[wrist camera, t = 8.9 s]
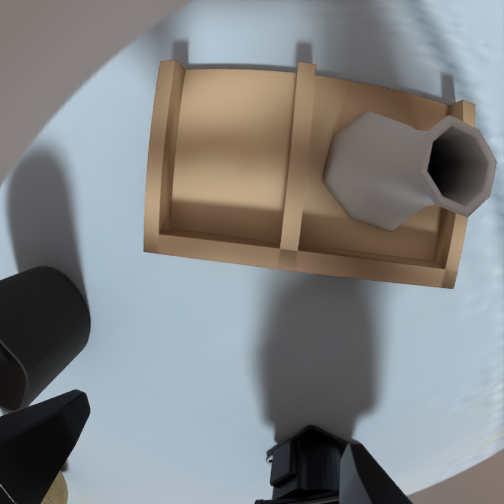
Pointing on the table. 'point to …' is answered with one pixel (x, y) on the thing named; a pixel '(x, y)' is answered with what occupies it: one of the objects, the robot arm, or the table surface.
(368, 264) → the rack
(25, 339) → the pen holder
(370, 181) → the flask
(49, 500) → the fossilized egg
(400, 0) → the table surface
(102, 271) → the table surface
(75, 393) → the robot arm
